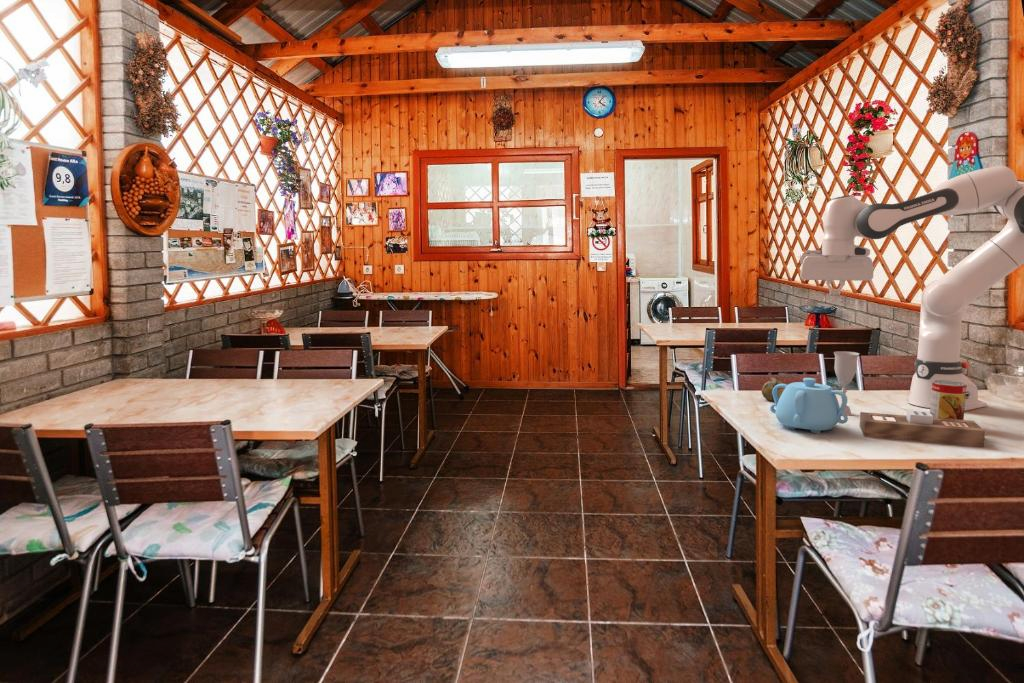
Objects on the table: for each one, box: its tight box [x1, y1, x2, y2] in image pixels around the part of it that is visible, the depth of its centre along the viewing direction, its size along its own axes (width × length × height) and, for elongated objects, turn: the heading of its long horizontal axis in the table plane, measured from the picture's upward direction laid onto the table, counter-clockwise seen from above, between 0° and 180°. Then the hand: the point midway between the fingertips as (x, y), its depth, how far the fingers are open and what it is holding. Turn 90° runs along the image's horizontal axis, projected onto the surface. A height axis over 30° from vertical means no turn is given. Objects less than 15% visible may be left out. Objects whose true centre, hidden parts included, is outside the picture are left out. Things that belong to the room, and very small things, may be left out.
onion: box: [761, 376, 785, 402], centre depth 214 cm, size 8×8×8 cm
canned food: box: [929, 380, 967, 420], centre depth 183 cm, size 8×8×12 cm
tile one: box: [872, 416, 897, 422], centre depth 175 cm, size 5×5×3 cm
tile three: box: [942, 421, 968, 427], centre depth 169 cm, size 5×5×3 cm
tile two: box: [906, 410, 933, 424], centre depth 172 cm, size 5×5×3 cm
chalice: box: [833, 350, 860, 416], centre depth 196 cm, size 7×7×18 cm
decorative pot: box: [769, 377, 849, 434], centre depth 180 cm, size 16×16×14 cm
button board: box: [858, 411, 986, 448], centre depth 172 cm, size 26×11×4 cm, turn 68°
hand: (834, 295), depth 206 cm, fingers closed
